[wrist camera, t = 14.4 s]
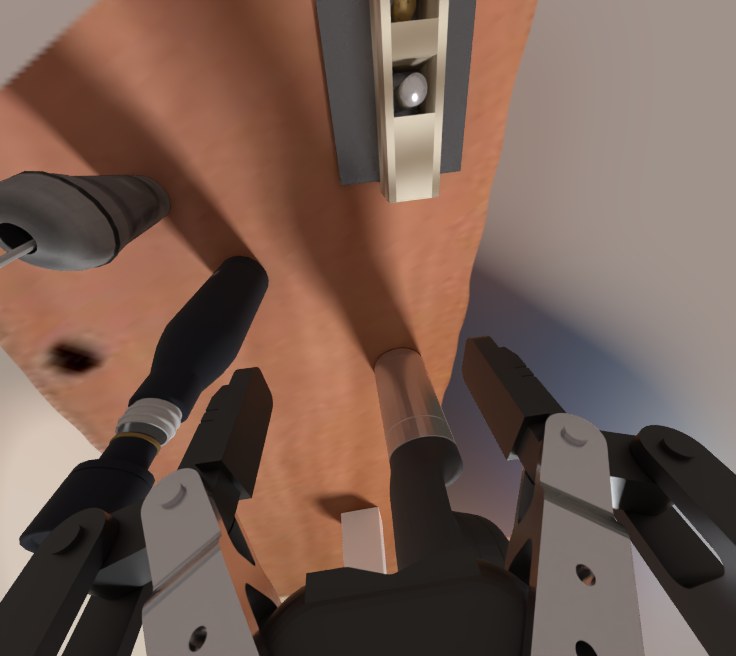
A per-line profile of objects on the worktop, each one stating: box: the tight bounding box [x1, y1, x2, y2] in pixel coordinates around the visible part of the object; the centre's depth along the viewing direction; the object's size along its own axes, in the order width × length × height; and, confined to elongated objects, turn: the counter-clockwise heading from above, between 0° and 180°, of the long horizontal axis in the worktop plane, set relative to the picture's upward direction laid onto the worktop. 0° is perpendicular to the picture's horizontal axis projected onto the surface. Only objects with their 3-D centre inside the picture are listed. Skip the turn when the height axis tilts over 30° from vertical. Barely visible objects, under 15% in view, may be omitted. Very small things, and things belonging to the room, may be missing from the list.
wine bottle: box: [19, 256, 269, 553], centre depth 25 cm, size 6×6×30 cm
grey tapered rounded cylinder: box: [0, 171, 170, 271], centre depth 22 cm, size 7×7×20 cm
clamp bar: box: [369, 0, 449, 203], centre depth 24 cm, size 17×5×6 cm, turn 6°
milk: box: [341, 507, 387, 574], centre depth 77 cm, size 12×12×26 cm
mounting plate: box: [316, 0, 476, 186], centre depth 25 cm, size 14×14×8 cm
